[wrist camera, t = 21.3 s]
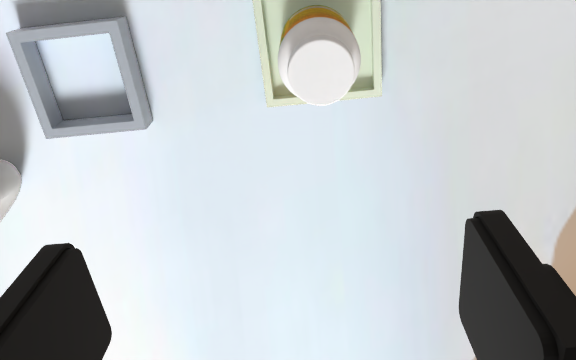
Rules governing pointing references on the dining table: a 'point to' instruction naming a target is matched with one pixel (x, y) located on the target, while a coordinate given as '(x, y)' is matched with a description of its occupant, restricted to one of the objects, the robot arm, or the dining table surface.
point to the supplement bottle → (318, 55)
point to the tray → (362, 21)
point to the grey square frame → (42, 90)
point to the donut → (8, 186)
